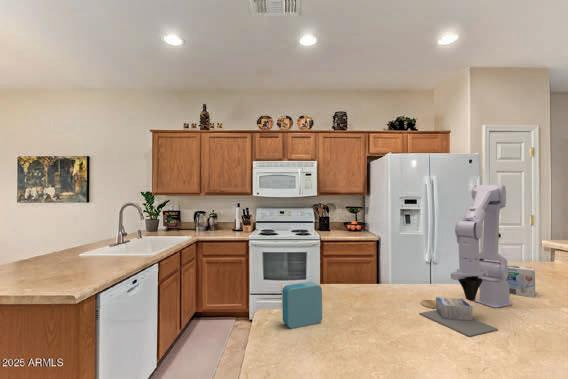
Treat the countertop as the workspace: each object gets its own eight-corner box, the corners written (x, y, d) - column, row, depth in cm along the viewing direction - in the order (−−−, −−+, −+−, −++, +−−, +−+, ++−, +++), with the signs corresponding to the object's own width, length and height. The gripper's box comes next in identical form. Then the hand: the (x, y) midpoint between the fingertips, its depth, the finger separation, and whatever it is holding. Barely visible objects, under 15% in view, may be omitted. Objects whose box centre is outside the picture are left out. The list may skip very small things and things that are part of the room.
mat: (445, 309, 104) (445, 308, 104) (498, 330, 87) (498, 328, 87) (419, 314, 100) (419, 313, 100) (469, 337, 83) (469, 335, 83)
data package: (315, 317, 98) (315, 281, 98) (322, 322, 94) (322, 284, 94) (282, 324, 93) (281, 285, 93) (288, 329, 89) (287, 289, 89)
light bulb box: (501, 292, 122) (500, 266, 122) (503, 289, 127) (502, 263, 127) (535, 298, 115) (534, 270, 115) (535, 294, 120) (534, 267, 120)
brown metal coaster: (432, 300, 114) (432, 298, 114) (450, 307, 106) (450, 305, 106) (416, 302, 111) (415, 301, 111) (433, 310, 103) (433, 308, 103)
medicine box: (472, 306, 93) (442, 304, 95) (472, 321, 93) (442, 318, 95) (463, 298, 101) (435, 296, 103) (463, 311, 101) (435, 309, 102)
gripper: (473, 254, 103) (474, 293, 102) (442, 257, 98) (443, 298, 97) (493, 257, 96) (495, 300, 96) (461, 261, 91) (463, 306, 90)
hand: (470, 300), depth 96 cm, fingers closed
